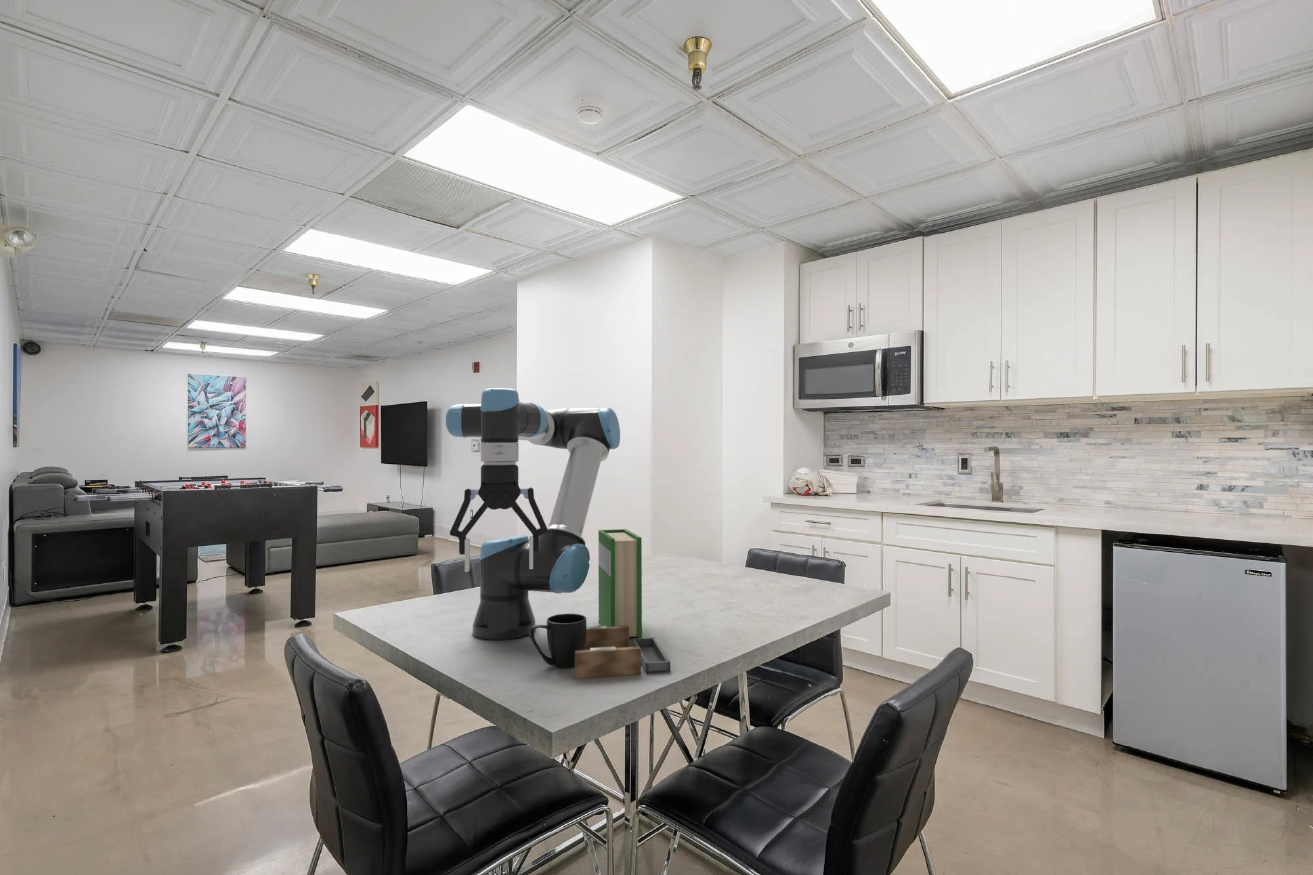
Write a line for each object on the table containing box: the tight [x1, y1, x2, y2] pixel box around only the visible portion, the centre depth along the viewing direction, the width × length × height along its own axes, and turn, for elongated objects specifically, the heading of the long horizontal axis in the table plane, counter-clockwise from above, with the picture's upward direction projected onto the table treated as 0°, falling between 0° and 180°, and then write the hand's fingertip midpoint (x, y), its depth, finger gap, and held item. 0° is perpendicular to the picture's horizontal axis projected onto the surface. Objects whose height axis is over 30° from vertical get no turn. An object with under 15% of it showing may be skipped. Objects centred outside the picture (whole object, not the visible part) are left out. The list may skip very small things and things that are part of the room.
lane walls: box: [574, 625, 642, 680], centre depth 132 cm, size 13×17×5 cm
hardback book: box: [597, 528, 643, 639], centre depth 156 cm, size 18×7×24 cm, turn 15°
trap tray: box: [631, 637, 671, 674], centre depth 133 cm, size 5×17×2 cm, turn 11°
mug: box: [529, 613, 587, 669], centre depth 130 cm, size 8×12×10 cm
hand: (499, 569), depth 128 cm, fingers open, 12 cm apart
